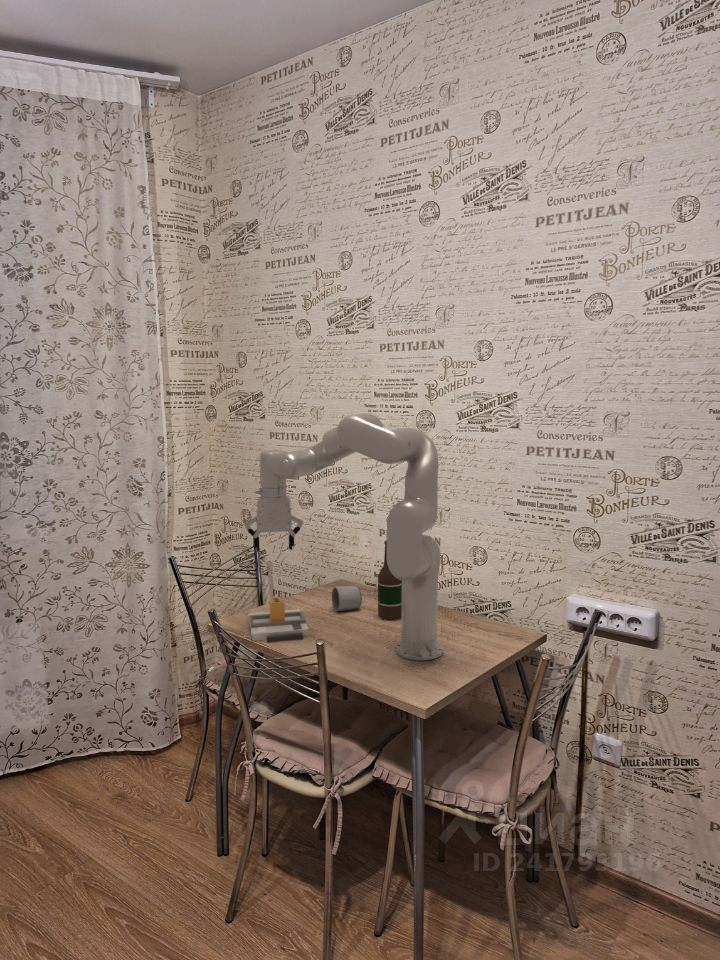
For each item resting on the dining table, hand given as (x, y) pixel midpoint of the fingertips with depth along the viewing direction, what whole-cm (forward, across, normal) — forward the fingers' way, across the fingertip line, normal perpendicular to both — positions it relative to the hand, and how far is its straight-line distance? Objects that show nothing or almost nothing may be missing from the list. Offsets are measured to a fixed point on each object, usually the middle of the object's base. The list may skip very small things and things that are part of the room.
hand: (274, 549), depth 202 cm
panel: (+23, 0, -4) cm, 23 cm away
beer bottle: (+23, +35, -2) cm, 42 cm away
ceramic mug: (+23, +23, +9) cm, 34 cm away
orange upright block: (+20, 0, -4) cm, 21 cm away
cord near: (+23, +2, -14) cm, 27 cm away
